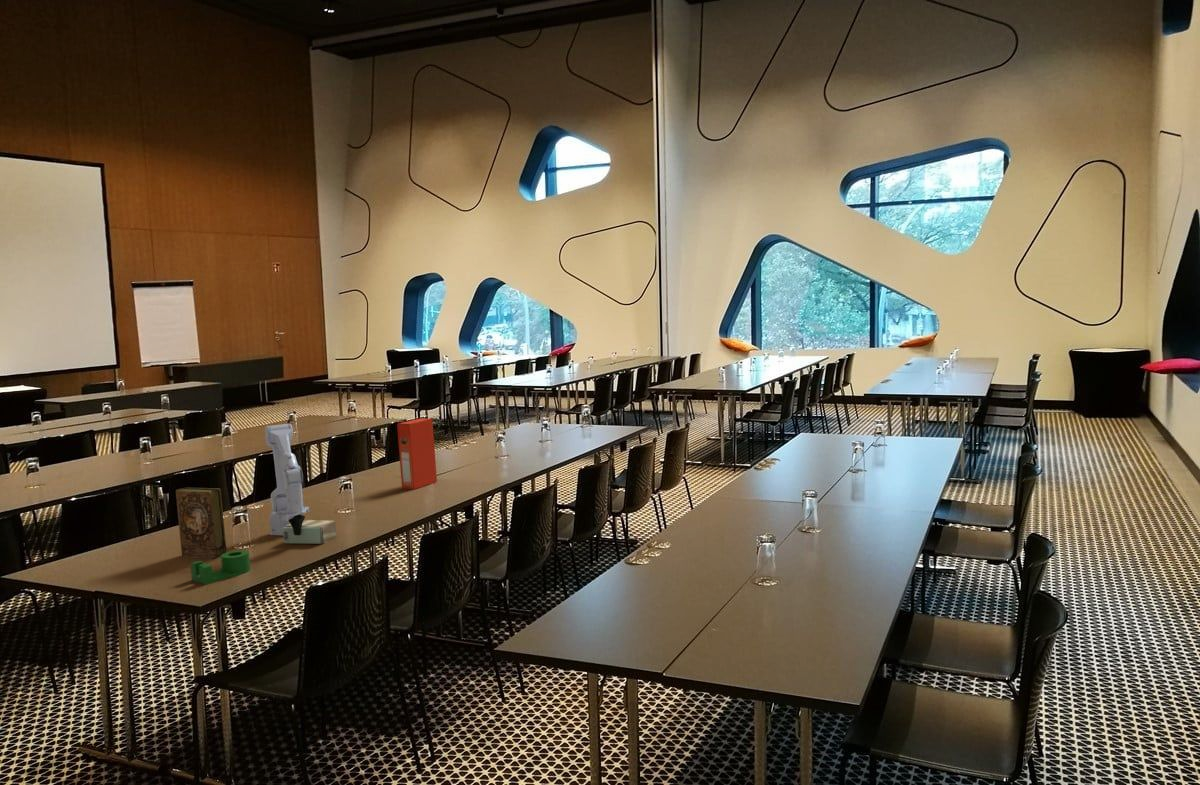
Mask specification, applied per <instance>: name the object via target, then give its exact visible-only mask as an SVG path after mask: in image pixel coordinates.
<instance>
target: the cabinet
mask: <svg viewBox="0 0 1200 785" xmlns="http://www.w3.org/2000/svg"><path fill="white" fill-rule="evenodd" d="M336 526H337V525H336V520H325V519H324V520H323V519H322V520H320V519H319V520H318V519H317V520H316V519H315V520H314V519H304V521H303V523H302V527H303V528H320V527H322V539H323V543H321V544H323V545H324V544H326V543H328V542H330V541H332V540H334V539H336V538H337V527H336ZM286 527H292V525H291V524H289V525H287V526H286Z"/></svg>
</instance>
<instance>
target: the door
mask: <svg viewBox="0 0 1200 785" xmlns="http://www.w3.org/2000/svg"><path fill="white" fill-rule="evenodd" d="M282 537H283V543H284V544H322V543H323V539H322V527H320V528H303V527H301V535H294V532H293V528H292V527H284V528H283V535H282Z"/></svg>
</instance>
